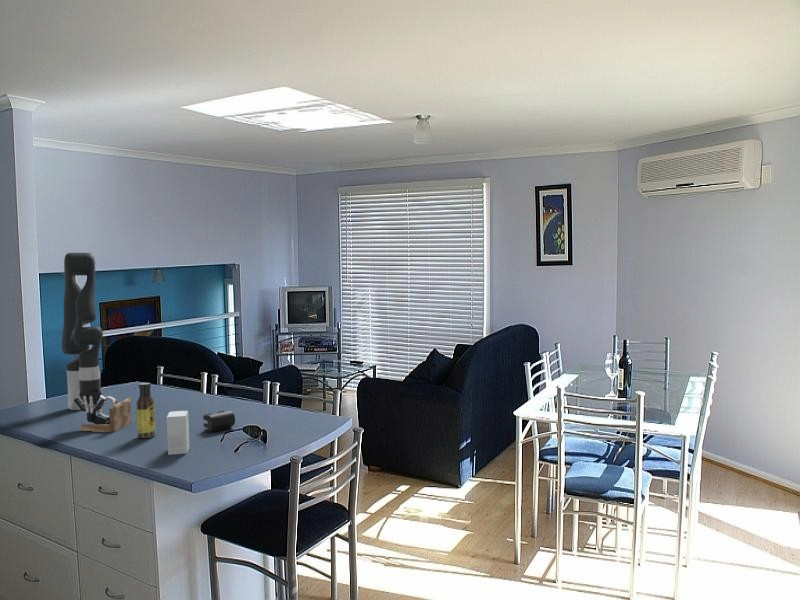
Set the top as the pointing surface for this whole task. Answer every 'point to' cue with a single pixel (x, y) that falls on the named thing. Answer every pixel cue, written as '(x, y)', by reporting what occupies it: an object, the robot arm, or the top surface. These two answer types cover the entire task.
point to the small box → (177, 432)
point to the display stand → (113, 418)
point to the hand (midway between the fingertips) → (91, 421)
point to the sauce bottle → (145, 412)
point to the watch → (102, 417)
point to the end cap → (219, 421)
